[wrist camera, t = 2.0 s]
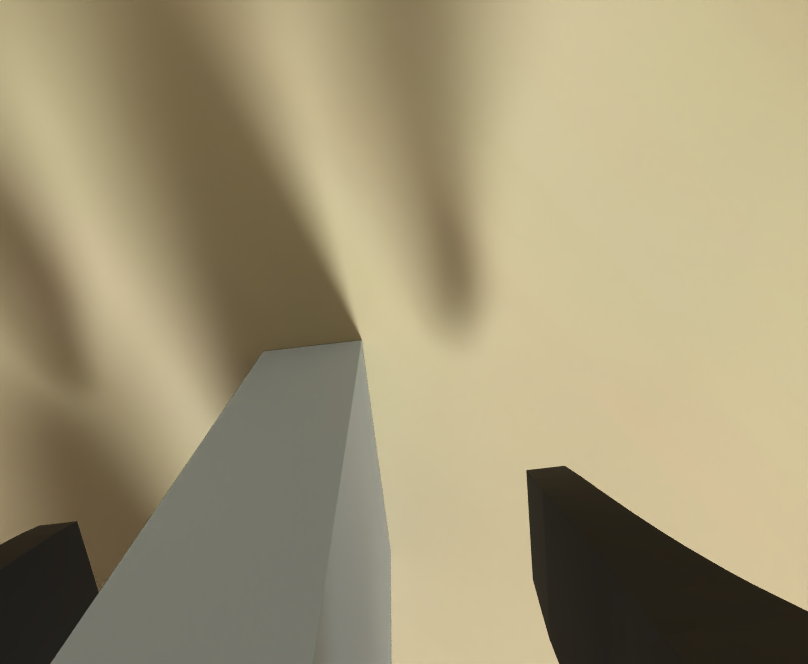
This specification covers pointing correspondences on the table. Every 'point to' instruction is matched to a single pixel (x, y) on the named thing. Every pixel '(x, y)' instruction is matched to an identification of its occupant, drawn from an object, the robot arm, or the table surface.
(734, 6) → the table surface
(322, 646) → the blue domino
